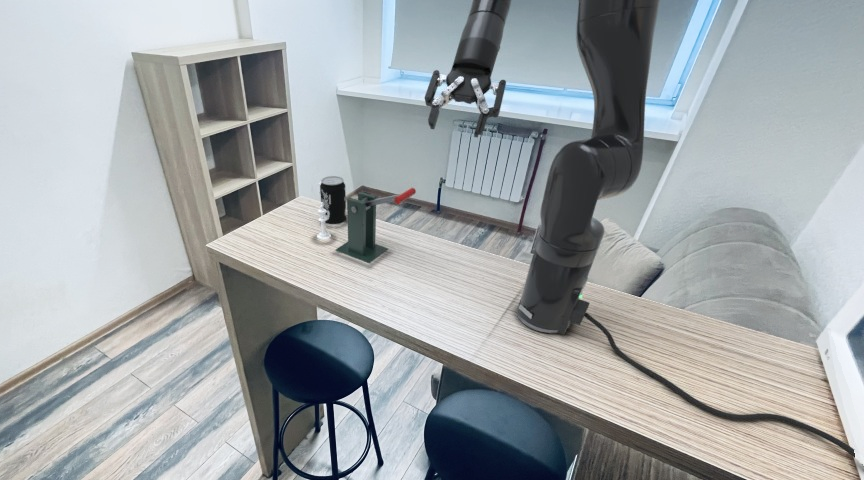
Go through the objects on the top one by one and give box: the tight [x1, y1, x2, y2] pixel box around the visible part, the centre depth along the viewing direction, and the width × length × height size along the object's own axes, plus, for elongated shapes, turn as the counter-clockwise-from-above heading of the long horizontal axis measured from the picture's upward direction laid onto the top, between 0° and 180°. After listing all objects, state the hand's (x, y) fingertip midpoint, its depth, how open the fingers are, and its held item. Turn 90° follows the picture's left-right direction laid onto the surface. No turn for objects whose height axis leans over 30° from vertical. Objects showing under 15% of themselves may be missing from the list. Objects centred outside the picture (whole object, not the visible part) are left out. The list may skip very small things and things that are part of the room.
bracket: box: [334, 191, 389, 264], centre depth 94 cm, size 10×8×14 cm
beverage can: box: [319, 175, 347, 225], centre depth 108 cm, size 7×7×12 cm
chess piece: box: [316, 201, 332, 240], centre depth 101 cm, size 5×5×10 cm
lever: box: [357, 187, 417, 210], centre depth 87 cm, size 14×6×2 cm, turn 52°
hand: (453, 131), depth 78 cm, fingers open, 8 cm apart
